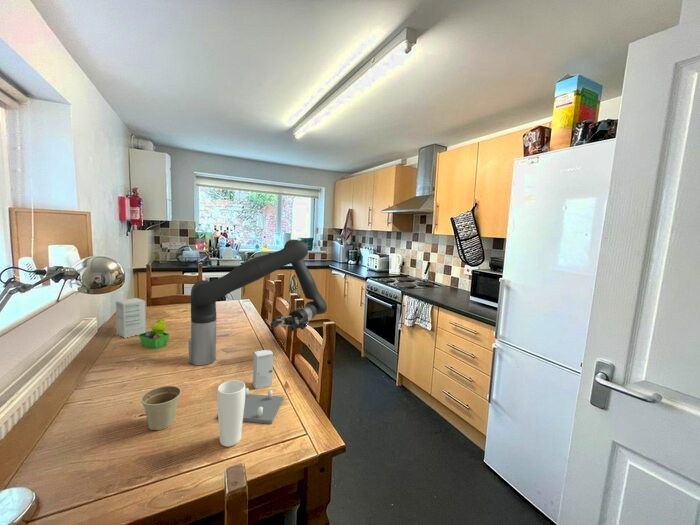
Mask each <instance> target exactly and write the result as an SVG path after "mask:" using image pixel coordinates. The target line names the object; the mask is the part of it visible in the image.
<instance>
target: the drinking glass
mask: <svg viewBox="0 0 700 525" xmlns="http://www.w3.org/2000/svg"><path fill="white" fill-rule="evenodd" d="M245 388H246V384H245V382H243V381H242V380H237V379H236V380H234V379H233V380H232V379H231V380H228V381H227V380H226V381H225V382H222V383H221V384H219V386H218V387H217V393H216V394H217V395H216V404H217V405H216V406H217V407H216V408H217V419H218V420H217V421H218V430H219V443H220V445H221V446H223V447H228V448H229V447H233V446H235V445H237V444H238V443H240V441H241V439H242V434H243V423H244V421H243V415H244V406H245Z"/></svg>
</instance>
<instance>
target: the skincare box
mask: <svg viewBox="0 0 700 525" xmlns="http://www.w3.org/2000/svg"><path fill="white" fill-rule="evenodd" d="M252 364H253V367H252V385H253V388H254V389H255V390H258V389H262V388H266V387H271V386H272V385H273V372H274V371H273V368H274V353H273V351H272V350H271V349H264V350H258V351H253V362H252Z"/></svg>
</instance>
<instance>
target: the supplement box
mask: <svg viewBox="0 0 700 525" xmlns="http://www.w3.org/2000/svg"><path fill="white" fill-rule="evenodd" d="M115 313H116V318H115V319H116V334H117V335H118V334H119V335H118V336H120V337H121V336H122V337H121V338H123V337H124V338H123V339H128V338H130V337H131V336H132V337H136V336H135V335H137V336H138V335H139V334H142V333H146V332H147V331H146V330H147V319H146V318H147V317H146V315H147V314H146V300H143V299H141V298H138V297H134V298H127V299H120V300H116V301H115ZM127 337H128V338H127Z"/></svg>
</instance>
